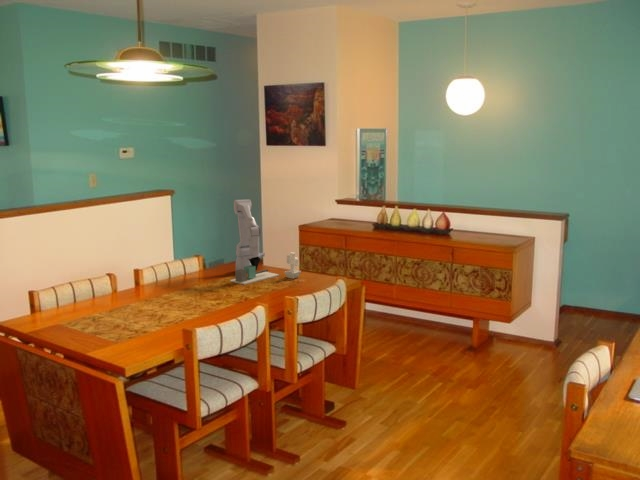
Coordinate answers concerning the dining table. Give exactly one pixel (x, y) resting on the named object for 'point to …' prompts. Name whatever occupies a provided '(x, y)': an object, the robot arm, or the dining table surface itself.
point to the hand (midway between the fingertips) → (254, 270)
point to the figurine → (292, 266)
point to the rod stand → (243, 278)
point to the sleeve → (250, 271)
